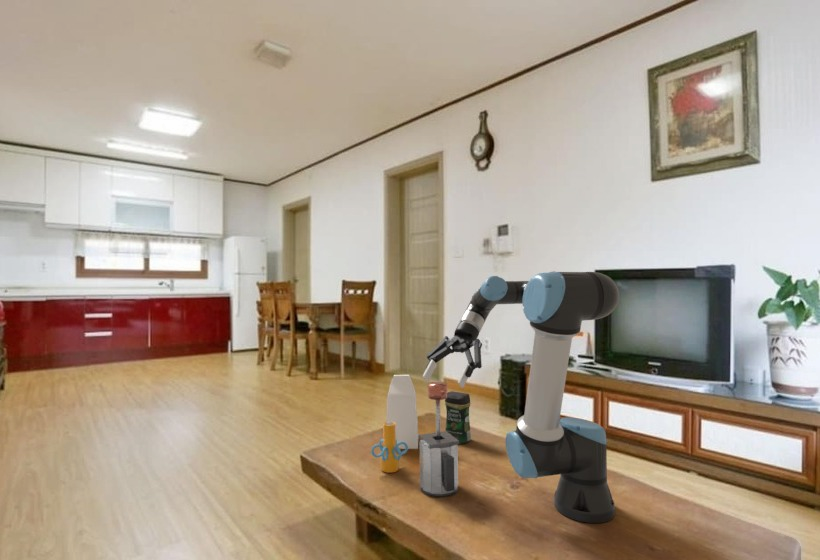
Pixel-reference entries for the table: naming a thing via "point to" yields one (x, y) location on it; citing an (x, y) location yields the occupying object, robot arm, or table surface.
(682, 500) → the table surface
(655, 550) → the table surface
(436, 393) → the plunger
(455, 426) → the coffee jar
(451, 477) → the press carafe
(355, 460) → the table surface
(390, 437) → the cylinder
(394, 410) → the milk
